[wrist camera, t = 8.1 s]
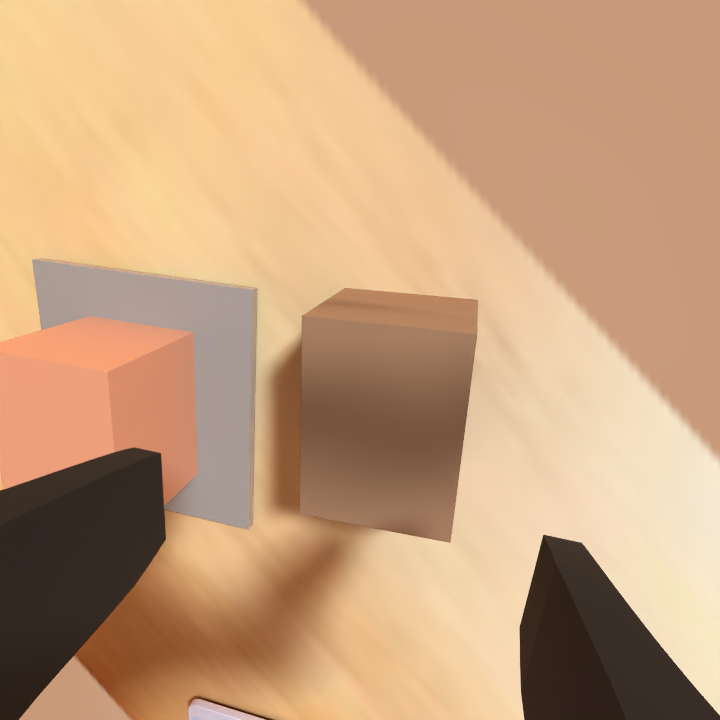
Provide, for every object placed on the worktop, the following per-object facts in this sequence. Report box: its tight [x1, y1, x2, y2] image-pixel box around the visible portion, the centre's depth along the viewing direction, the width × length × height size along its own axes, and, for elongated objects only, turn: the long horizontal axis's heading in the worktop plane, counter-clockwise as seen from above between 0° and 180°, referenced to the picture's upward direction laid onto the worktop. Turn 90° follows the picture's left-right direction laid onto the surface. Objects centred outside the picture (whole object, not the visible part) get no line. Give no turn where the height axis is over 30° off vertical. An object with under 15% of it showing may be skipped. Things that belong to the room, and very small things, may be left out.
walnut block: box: [300, 288, 478, 543], centre depth 15 cm, size 6×4×4 cm
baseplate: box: [32, 259, 257, 530], centre depth 20 cm, size 10×9×1 cm
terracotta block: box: [0, 316, 198, 506], centre depth 17 cm, size 6×4×4 cm
